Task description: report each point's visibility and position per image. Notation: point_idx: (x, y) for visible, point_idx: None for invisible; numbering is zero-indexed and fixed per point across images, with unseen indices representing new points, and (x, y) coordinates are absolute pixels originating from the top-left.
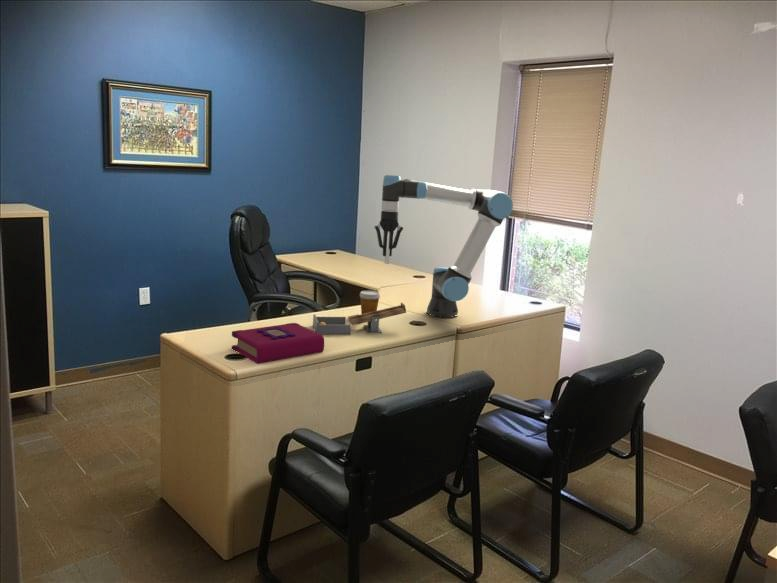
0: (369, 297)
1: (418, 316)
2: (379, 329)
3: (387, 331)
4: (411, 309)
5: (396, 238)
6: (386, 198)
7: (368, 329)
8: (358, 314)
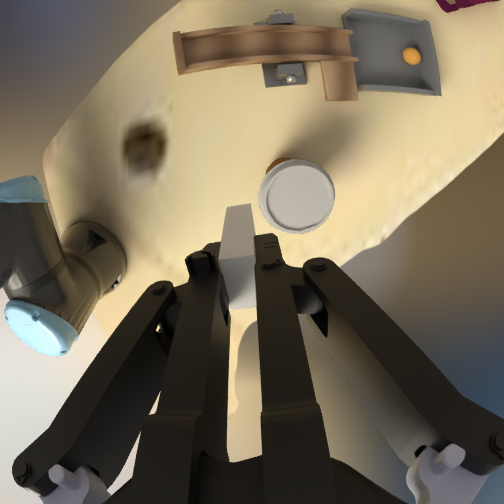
0: (302, 160)
1: (142, 222)
2: None
3: None
4: None
5: (119, 362)
6: None
7: None
8: (329, 97)
